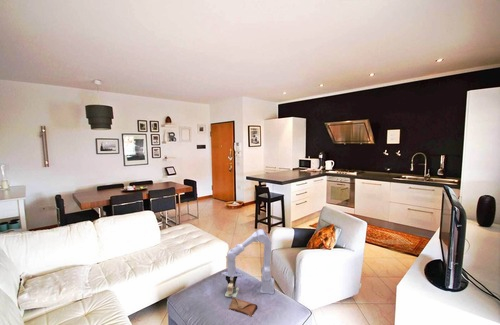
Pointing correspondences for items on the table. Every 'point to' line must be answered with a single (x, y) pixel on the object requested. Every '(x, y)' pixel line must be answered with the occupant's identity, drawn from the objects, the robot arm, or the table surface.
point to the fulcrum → (232, 293)
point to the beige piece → (231, 286)
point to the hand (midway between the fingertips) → (232, 285)
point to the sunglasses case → (243, 307)
